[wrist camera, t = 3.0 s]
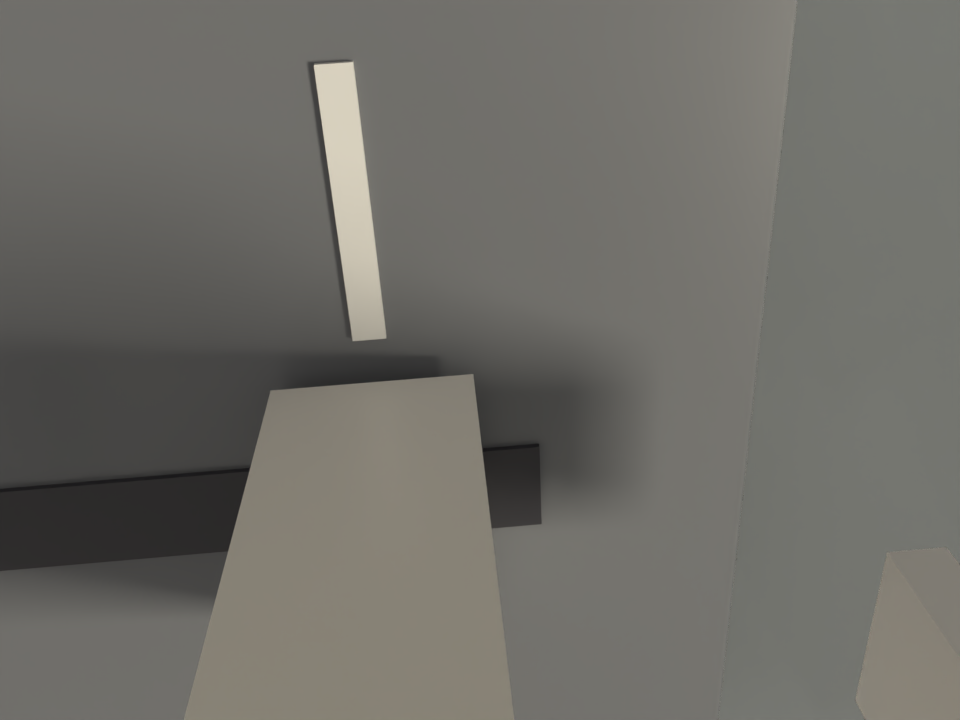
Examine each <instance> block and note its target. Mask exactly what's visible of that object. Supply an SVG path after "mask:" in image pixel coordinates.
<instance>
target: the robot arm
mask: <svg viewBox="0 0 960 720" xmlns="http://www.w3.org/2000/svg"><path fill="white" fill-rule="evenodd" d="M855 701H856V703H857V705H858V706H859V708H860V710H861V712H862V714H863V716H864V718H865V720H960V564H959V563H958V562H957V560H956V559H955V558H954V556H953V555H952V554H951V553H950V551H949V550H948V549H947V547H941V548H930V549H918V550H907V551H896V552H887V556H886V561H885V565H884V570H883V575H882V579H881V584H880V588H879V593H878V598H877V602H876V607H875V611H874V616H873V621H872V625H871V630H870V635H869V639H868V644H867V648H866V653H865V658H864V662H863V667H862V671H861V676H860V681H859V685H858V690H857V695H856V699H855Z"/></svg>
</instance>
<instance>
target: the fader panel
mask: <svg viewBox="0 0 960 720" xmlns="http://www.w3.org/2000/svg"><path fill="white" fill-rule="evenodd" d="M796 9H797V0H0V720H184V717H185V713H186V709H187V706H188V702H189V698H190V694H191V690H192V687H193V683H194V679H195V675H196V672H197V668H198V664H199V660H200V656H201V653H202V649H203V645H204V641H205V637H206V634H207V630H208V626H209V622H210V618H211V615H212V611H213V607H214V603H215V600H216V596H217V592H218V588H219V584H220V581H221V577H222V573H223V569H224V565H225V562H226V558H227V554H228V550H229V546H230V543H231V539H232V535H233V531H234V528H235V524H236V520H237V516H238V512H239V509H240V505H241V501H242V497H243V493H244V490H245V486H246V482H247V478H248V474H249V471H250V467H251V463H252V459H253V456H254V452H255V448H256V444H257V440H258V437H259V433H260V429H261V425H262V421H263V418H264V414H265V410H266V406H267V402H268V399H269V395H270V391H271V390H283V389H295V388H307V387H320V386H332V385H344V384H357V383H369V382H381V381H394V380H406V379H418V378H430V377H443V376H455V375H467V374H473V376H474V385H475V393H476V402H477V410H478V418H479V427H480V435H481V444H482V452H483V461H484V469H485V478H486V486H487V494H488V503H489V511H490V520H491V528H492V537H493V545H494V553H495V562H496V570H497V579H498V587H499V596H500V604H501V613H502V621H503V629H504V638H505V646H506V655H507V663H508V672H509V680H510V689H511V697H512V705H513V714H514V720H719V711H720V701H721V692H722V683H723V674H724V665H725V656H726V647H727V638H728V629H729V619H730V610H731V601H732V592H733V583H734V574H735V565H736V556H737V547H738V537H739V528H740V519H741V510H742V501H743V492H744V483H745V474H746V465H747V455H748V446H749V437H750V428H751V419H752V410H753V401H754V392H755V383H756V373H757V364H758V355H759V346H760V337H761V328H762V319H763V310H764V301H765V291H766V282H767V273H768V264H769V255H770V246H771V237H772V228H773V219H774V209H775V200H776V191H777V182H778V173H779V164H780V155H781V146H782V137H783V127H784V118H785V109H786V100H787V91H788V82H789V73H790V64H791V55H792V45H793V36H794V27H795V18H796Z"/></svg>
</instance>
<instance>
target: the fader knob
mask: <svg viewBox="0 0 960 720" xmlns="http://www.w3.org/2000/svg"><path fill="white" fill-rule="evenodd" d="M184 720H514V714H513V705H512V697H511V689H510V680H509V672H508V663H507V655H506V646H505V638H504V629H503V621H502V613H501V604H500V596H499V587H498V579H497V570H496V562H495V553H494V545H493V537H492V528H491V520H490V511H489V503H488V494H487V486H486V478H485V469H484V461H483V452H482V444H481V435H480V427H479V418H478V410H477V402H476V393H475V385H474V376H473V374H467V375H455V376H443V377H430V378H418V379H406V380H394V381H381V382H369V383H357V384H344V385H332V386H320V387H307V388H295V389H283V390H271V391H270V395H269V399H268V402H267V406H266V410H265V414H264V418H263V421H262V425H261V429H260V433H259V437H258V440H257V444H256V448H255V452H254V456H253V459H252V463H251V467H250V471H249V474H248V478H247V482H246V486H245V490H244V493H243V497H242V501H241V505H240V509H239V512H238V516H237V520H236V524H235V528H234V531H233V535H232V539H231V543H230V546H229V550H228V554H227V558H226V562H225V565H224V569H223V573H222V577H221V581H220V584H219V588H218V592H217V596H216V600H215V603H214V607H213V611H212V615H211V618H210V622H209V626H208V630H207V634H206V637H205V641H204V645H203V649H202V653H201V656H200V660H199V664H198V668H197V672H196V675H195V679H194V683H193V687H192V690H191V694H190V698H189V702H188V706H187V709H186V713H185V717H184Z"/></svg>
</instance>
